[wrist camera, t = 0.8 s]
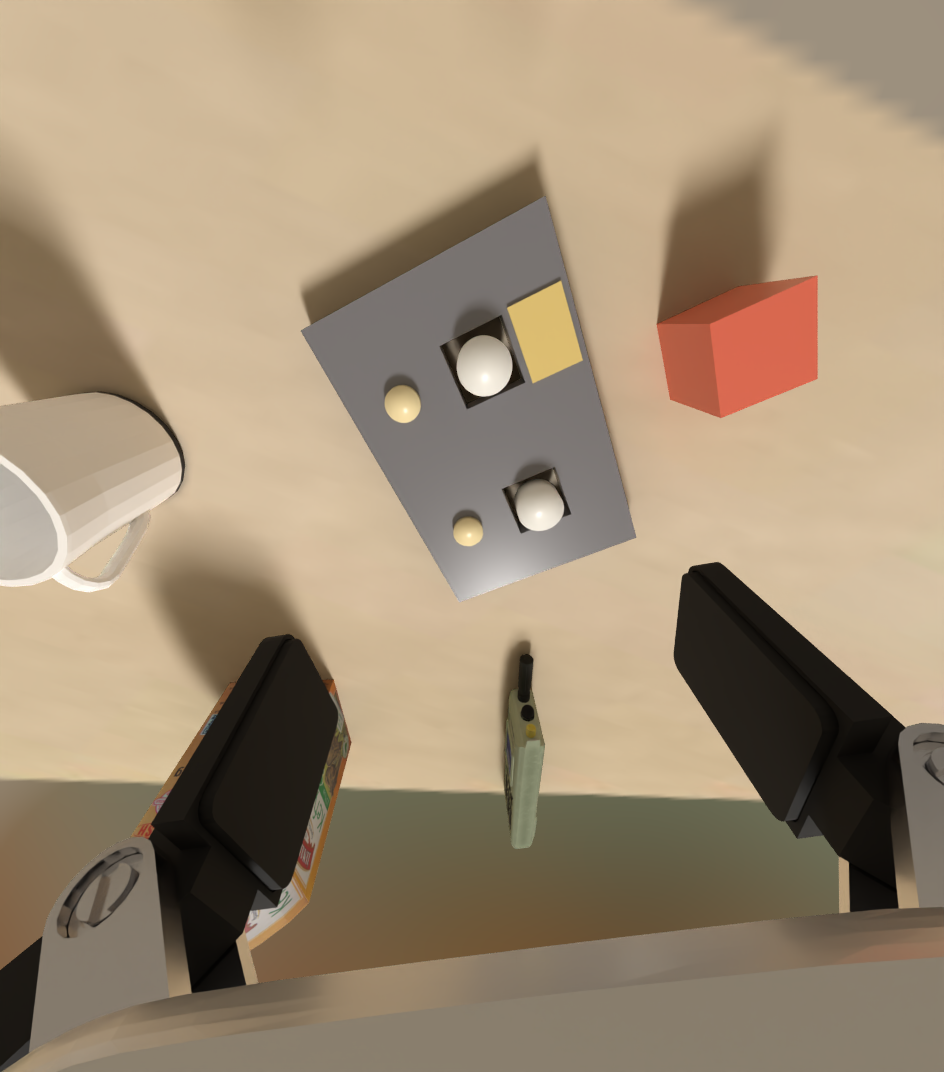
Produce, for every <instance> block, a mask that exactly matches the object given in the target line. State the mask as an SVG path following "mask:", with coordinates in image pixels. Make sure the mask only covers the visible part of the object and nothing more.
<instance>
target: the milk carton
mask: <svg viewBox="0 0 944 1072" xmlns="http://www.w3.org/2000/svg"><path fill="white" fill-rule="evenodd" d="M322 681H323V683H324V684H325V686H326V688H327V690H328V692H329V694H330V696H331V697H332V699H333V701H334V703H335V705H336V707H337V709H338V723H337V727H336V730H335V734H334V737H333V741H332V744H331V747H330V751H329V754H328V758H327V761H326V765H325V768H324V771H323V775H322V778H321V782H320V785H319V789H318V792H317V795H316V799H315V802H314V806H313V809H312V813H311V816H310V819H309V823H308V826H307V830H306V833H305V837H304V840H303V844H302V847H301V850H300V854H299V857H298V861H297V864H296V868H295V871H294V874H293V877H292V880H291V882H290V884H289V885H288V886H287V887H286V888H284V889H283V891H282V894H281V897H280V900H279V904H278V907H277V908H270V909H263V910H255V911H250V914H249V917H248V920H247V922H246V925H245V928H244V929H245V933H246V937H247V941H248V945H249V949H250V950H252V949H253V948H255V947H256V946H258V945H260V944H261V943H262V942H264V941H265V940H266V939H268V938H269V937H270V936H272V935H273V934H274V933H276V932H277V931H278V930H280V929H281V928H282V927H284V926H285V925H286V924H287V923H289V922H290V921H291V920H292V919H293V918H294V917H295V916H296V915H297V914H298V913H299V912H300V911H301V910H302V909H303V908H304V907H305V906H306V905H307V904H308V903H309V901H310V896H311V893H312V889H313V885H314V882H315V878H316V874H317V870H318V867H319V863H320V859H321V855H322V851H323V848H324V844H325V840H326V836H327V832H328V829H329V825H330V821H331V818H332V814H333V810H334V806H335V802H336V799H337V795H338V791H339V787H340V784H341V780H342V776H343V772H344V769H345V765H346V761H347V757H348V753H349V750H350V746H351V740H350V736H349V733H348V729H347V725H346V722H345V718H344V715H343V711H342V708H341V704H340V701H339V697H338V693H337V690H336V686H335V683H334V680H322ZM235 684H236V683H230V684H229V685H228V687H227V688H226V690H225V691H224V693H223V694H222V696H221V698H220V699H219V701H218V702H217V704H216V705H215V707H214V708H213V710H212V711H211V713H210V715H209V716H208V718H207V719H206V721H205V722H204V724H203V725H202V727H201V729H200V730H199V732H198V733H197V735H196V736H195V738H194V739H193V741H192V742H191V744H190V746H189V747H188V749H187V750H186V752H185V753H184V755H183V756H182V758H181V759H180V761H179V763H178V764H177V766H176V767H175V769H174V770H173V772H172V773H171V775H170V776H169V778H168V780H167V781H166V783H165V784H164V786H163V787H162V789H161V791H160V792H159V794H158V795H157V797H156V798H155V800H154V801H153V803H152V805H151V806H150V807H149V809H148V810H147V812H146V814H145V815H144V817H143V818H142V820H141V821H140V823H139V824H138V826H137V828H136V829H135V831H134V832H133V834H132V835H131V837H144V838H146V839H148V838H149V837H150V835H151V833H152V832H153V830H154V827H153V826H152V825H151V823H152V821H153V820H154V818H155V816H156V815H157V813H158V811H159V810H160V808H161V806H162V805H163V803H164V801H165V800H166V798H167V796H168V795H169V793H170V791H171V790H172V788H173V787H174V785H175V783H176V782H177V780H178V778H179V777H180V775H181V773H182V772H183V770H184V768H185V767H186V765H187V763H188V762H189V760H190V759H191V757H192V755H193V754H194V752H195V750H196V749H197V747H198V745H199V744H200V742H201V740H202V739H203V737H204V735H205V734H206V732H207V731H208V729H209V727H210V726H211V724H212V722H213V721H214V719H215V717H216V716H217V714H218V712H219V711H220V709H221V707H222V706H223V704H224V703H225V701H226V699H227V698H228V696H229V694H230V693H231V691H232V689H233V688H234V686H235ZM131 837H130V838H131Z"/></svg>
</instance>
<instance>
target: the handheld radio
mask: <svg viewBox="0 0 944 1072" xmlns="http://www.w3.org/2000/svg"><path fill="white" fill-rule="evenodd" d="M532 669H533V658H532V656H530V655H527V654H525V655H522V656H521V657H520V667H519V681H518V687H519V689H513V690H512V691H511V692H510V697H509V707H508V719H507V720H506V740H505V754H506V765H505V789H504V791H505V799H506V807H507V814H508V823H509V831H510V838H511V844H512V846H513V847H514V848H515V849H519V848H526V847H529V846H530V845H531V844H532V839H533V838H534V835H535V829H536V822H537V812H536V810H537V802H538V795H539V787H540V780H541V772H542V765H543V757H544V749H545V743H544V739H543V735H542V731H541V726H540V722H539V718H538V714H537V709H536V705H535V701H534V697H533V692H532V691H531V690H530V688H531V680H532Z"/></svg>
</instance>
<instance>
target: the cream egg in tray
mask: <svg viewBox="0 0 944 1072" xmlns="http://www.w3.org/2000/svg"><path fill="white" fill-rule="evenodd" d="M457 373H458V377H459V380H460V382H461V384H462V385H463V386H464V387H465V389H466V390H468V391H469V392H470V393H472V394H474V395H477V396H491V395H494V394H496V393H498V392H499V391H501V390H502V389H503V388H504V387H505V386H506V384H507V383H508V381H509V379H510V376H511V373H512V358H511V355H510V352H509V350H508V349H507V347H506V346H505V345H504V344H503V343H502V342H501V341H500V340H498V339H496V338H494V337H492V336H488V335H479V336H475V337H473V338H471V339H469V340H468V341H467V342H466V343H465V344H464V345H463V346H462V348H461V350H460V352H459V355H458V360H457Z"/></svg>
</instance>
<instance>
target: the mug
mask: <svg viewBox="0 0 944 1072" xmlns="http://www.w3.org/2000/svg"><path fill="white" fill-rule="evenodd" d="M184 469H185V464H184V459H183V453H182V451H181V449H180V446H179V444H178V442H177V440H176V438H175V437H174V435H173V434H172V433H171V431H170V430H169V428H168V427H167V426H166V425H165V424H164V423H163V422H162V421H161V420H160V419H159V418H158V417H157V416H156V415H155V414H154V413H152V412H151V411H149V410H148V409H146V408H145V407H143V406H141V405H140V404H138V403H136V402H134V401H132V400H129V399H127V398H124V397H122V396H120V395H117V394H111V393H105V392H90V393H82V394H75V395H68V396H62V397H55V398H49V399H42V400H36V401H29V402H23V403H16V404H10V405H3V406H0V585H1V586H9V587H16V586H29V585H34V584H37V583H40V582H43V581H46V580H48V579H50V578H54V579H55V580H56V581H57V582H59V583H61V584H63V585H65V586H67V587H69V588H71V589H73V590H78V591H84V592H92V591H97V590H101V589H105V588H108V587H110V586H111V585H112V584H113V583H114V582H115V581H116V580H117V579H118V578H119V577H120V576H121V574H122V572H123V571H124V569H125V567H126V566H127V564H128V562H129V561H130V559H131V557H132V555H133V554H134V552H135V550H136V549H137V547H138V545H139V543H140V542H141V540H142V538H143V536H144V535H145V533H146V531H147V529H148V525H149V521H150V517H151V516H150V512H149V510H151V509H152V508H154V507H156V506H157V505H159V504H160V503H162V502H163V501H165V500H166V499H168V498H169V497H171V496H172V495H173V494H174V493H175V492H177V491H178V489H179V487H180V485H181V483H182V482H183V477H184ZM127 524H129V527H128V530H127V532H126V535H125V537H124V538H123V540H122V542H121V543H120V545H119V546H118V548H117V549H116V551H115V553H114V554H113V555H112V557H111V558H110V560H109V561H108V563H107V564H106V566H105V567H104V569H103V571H102V572H101V574H100V575H99V576H98V577H96V578H89V577H84V576H82V575H80V574H78V573H76V572H74V571H73V570H72V569H70V568H69V567H68V565H69V564H71V563H72V562H73V561H75V560H76V559H77V558H79V557H80V556H81V555H82V554H84V553H85V552H86V551H88V550H89V549H90V548H92V547H93V546H95V545H96V544H98V543H99V542H101V541H103V540H104V539H106V538H107V537H109V536H110V535H112V534H113V533H115V532H117V531H118V530H120V529H121V528H123V527H124V526H126V525H127Z"/></svg>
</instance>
